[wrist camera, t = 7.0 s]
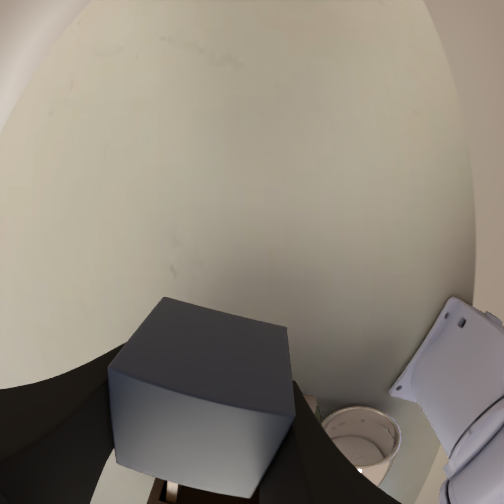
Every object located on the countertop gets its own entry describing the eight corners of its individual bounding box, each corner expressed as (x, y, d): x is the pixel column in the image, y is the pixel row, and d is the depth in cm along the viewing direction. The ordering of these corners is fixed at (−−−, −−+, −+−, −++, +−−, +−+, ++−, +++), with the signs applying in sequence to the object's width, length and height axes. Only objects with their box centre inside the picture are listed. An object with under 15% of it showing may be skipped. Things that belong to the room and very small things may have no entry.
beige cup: (298, 537, 19) (320, 477, 15) (295, 489, 26) (309, 407, 21) (364, 528, 19) (416, 459, 15) (354, 482, 25) (389, 398, 21)
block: (163, 295, 10) (105, 365, 6) (287, 326, 10) (297, 415, 6) (153, 387, 11) (115, 464, 7) (256, 413, 11) (251, 499, 7)
